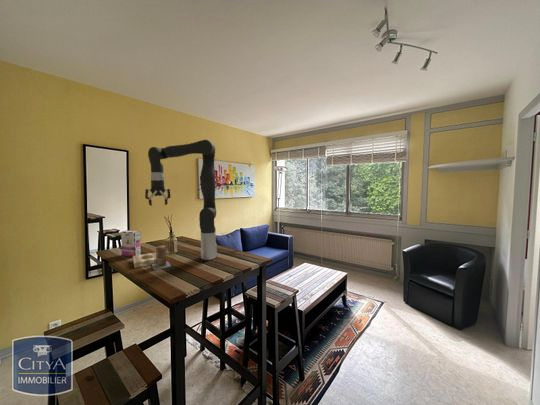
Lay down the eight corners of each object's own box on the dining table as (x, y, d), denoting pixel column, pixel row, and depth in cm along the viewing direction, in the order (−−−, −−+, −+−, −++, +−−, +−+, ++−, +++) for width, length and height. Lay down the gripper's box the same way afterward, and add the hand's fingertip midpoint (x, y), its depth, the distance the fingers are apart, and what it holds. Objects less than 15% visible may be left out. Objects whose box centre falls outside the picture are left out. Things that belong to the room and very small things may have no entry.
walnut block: (164, 263, 134) (164, 245, 132) (166, 265, 130) (165, 247, 129) (156, 264, 131) (155, 246, 130) (157, 267, 127) (157, 248, 126)
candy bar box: (141, 255, 149) (140, 231, 147) (135, 257, 144) (134, 232, 142) (127, 253, 151) (126, 229, 150) (121, 255, 147) (120, 231, 145)
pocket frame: (157, 256, 146) (157, 252, 146) (161, 263, 135) (161, 258, 135) (132, 260, 138) (132, 255, 138) (134, 267, 127) (134, 262, 127)
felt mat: (168, 262, 137) (168, 261, 137) (171, 266, 129) (171, 265, 129) (151, 265, 131) (151, 264, 131) (153, 270, 124) (153, 269, 124)
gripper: (168, 179, 148) (169, 204, 149) (143, 179, 140) (144, 205, 141) (170, 180, 142) (171, 205, 143) (145, 179, 133) (146, 206, 135)
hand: (158, 205), depth 142 cm, fingers open, 8 cm apart
